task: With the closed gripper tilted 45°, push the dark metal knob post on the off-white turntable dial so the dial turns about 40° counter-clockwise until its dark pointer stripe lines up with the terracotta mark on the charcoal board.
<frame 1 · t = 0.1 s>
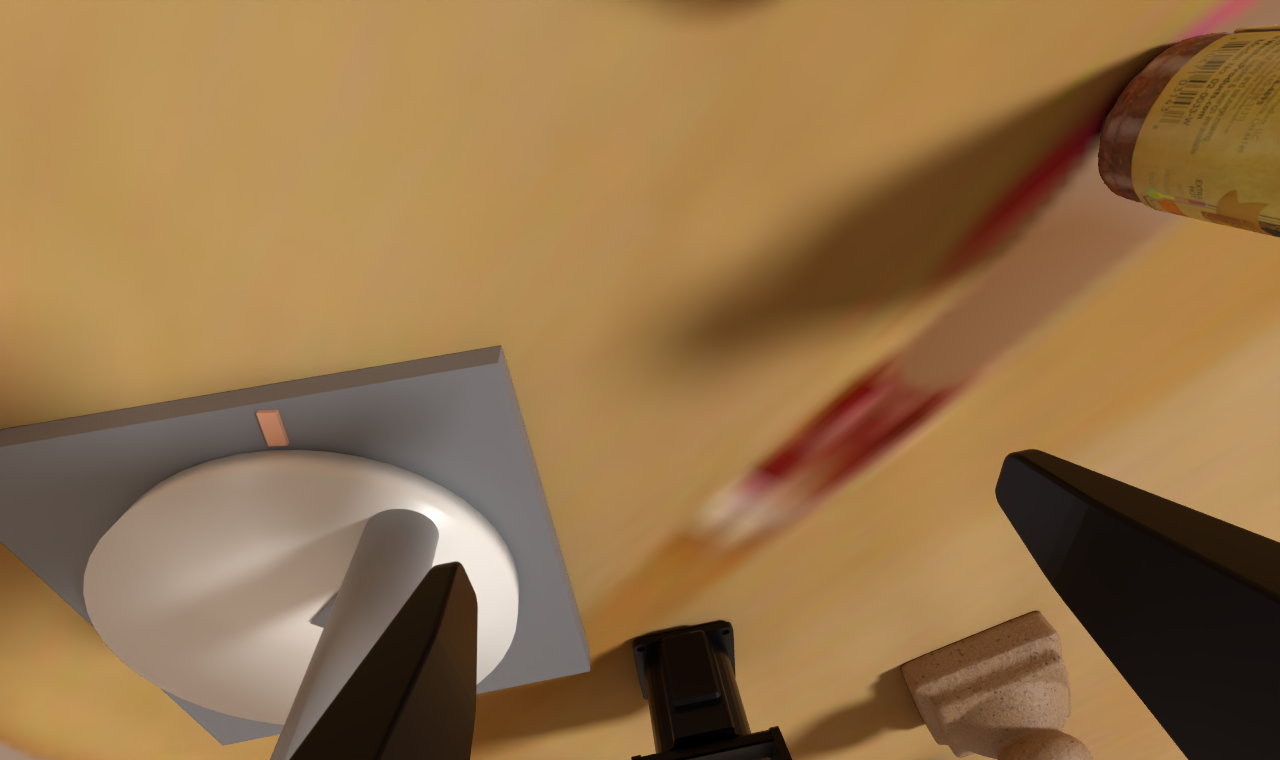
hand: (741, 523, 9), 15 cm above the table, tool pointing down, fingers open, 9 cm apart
sauce bottle: (1162, 118, 22), on the table
dial: (269, 745, 20), point 8 cm above the table, hinge at 0.0°
dial board: (343, 567, 28), on the table
candle holder: (975, 668, 43), on the table
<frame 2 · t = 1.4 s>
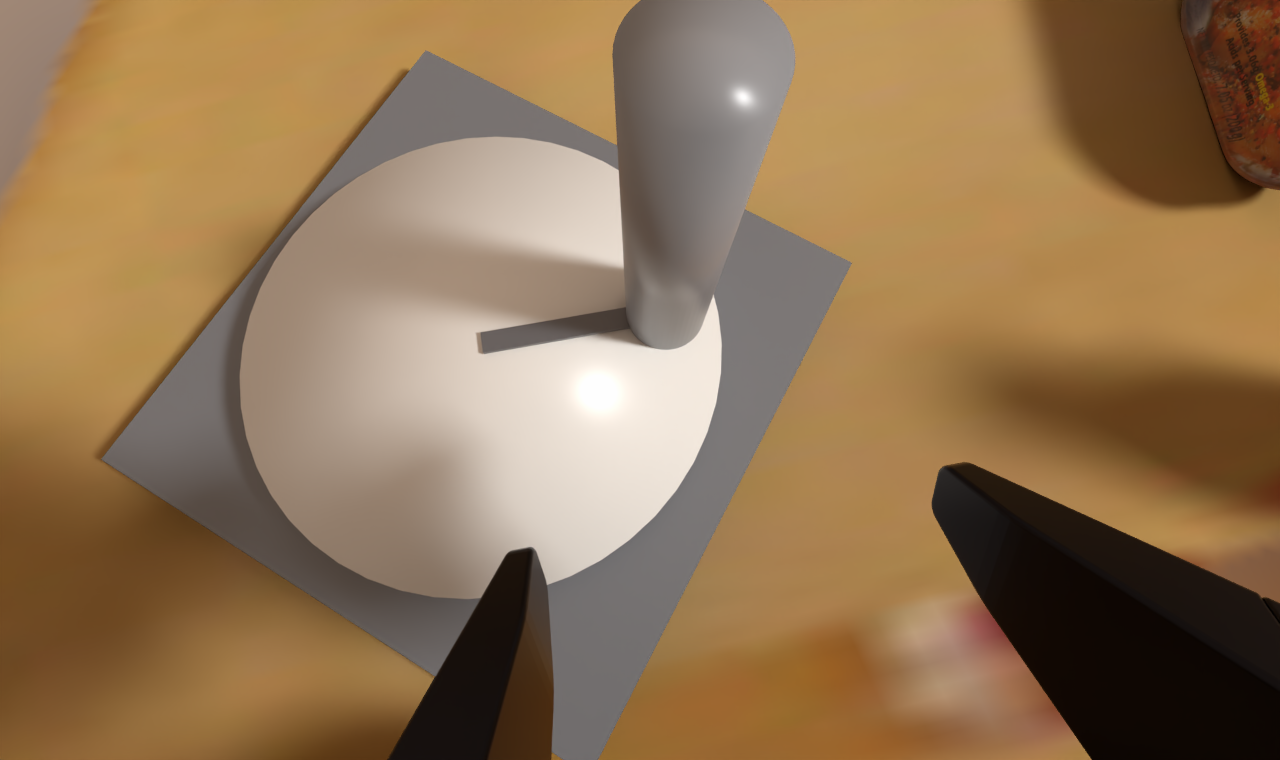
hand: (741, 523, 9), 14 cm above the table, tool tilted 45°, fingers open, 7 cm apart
dial: (430, 288, 15), point 8 cm above the table, hinge at 0.0°
dial board: (503, 365, 23), on the table
tin: (1225, 94, 27), on the table
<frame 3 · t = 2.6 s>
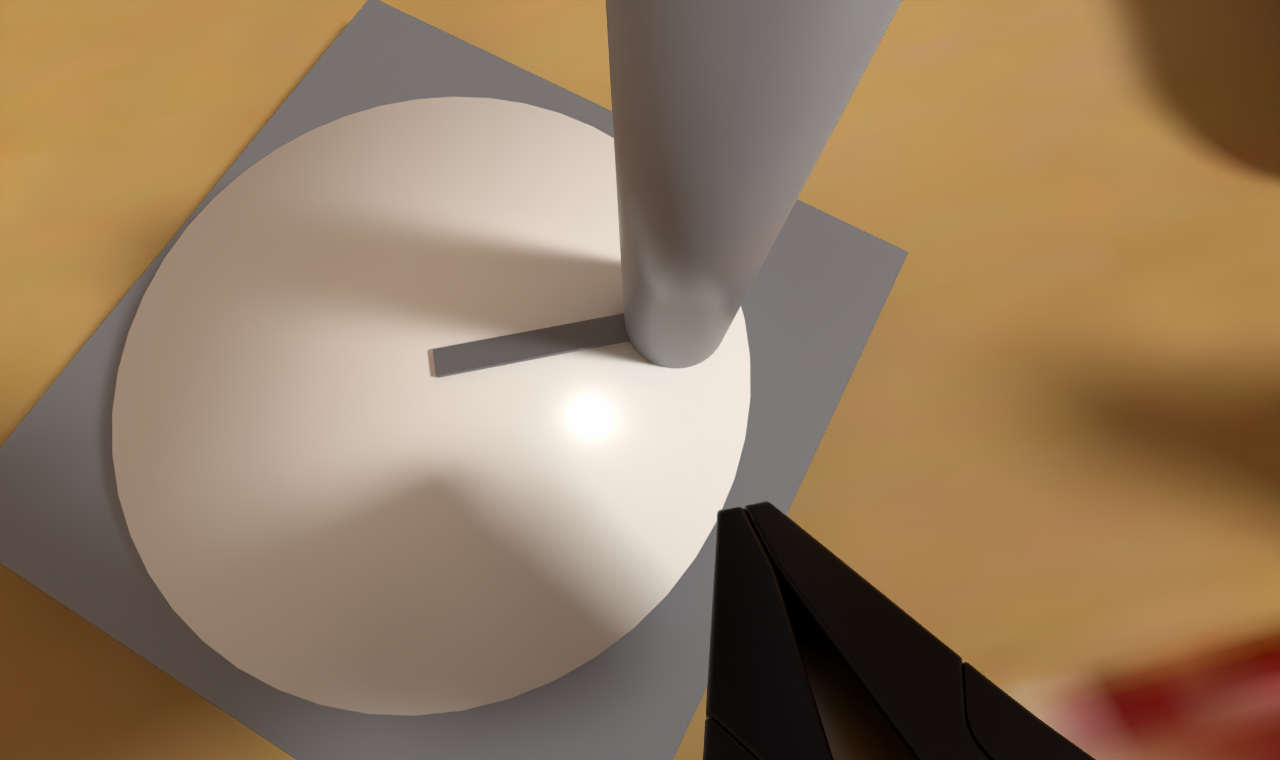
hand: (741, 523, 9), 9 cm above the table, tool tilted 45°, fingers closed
dial: (336, 293, 10), point 8 cm above the table, hinge at 0.0°
dial board: (470, 388, 18), on the table
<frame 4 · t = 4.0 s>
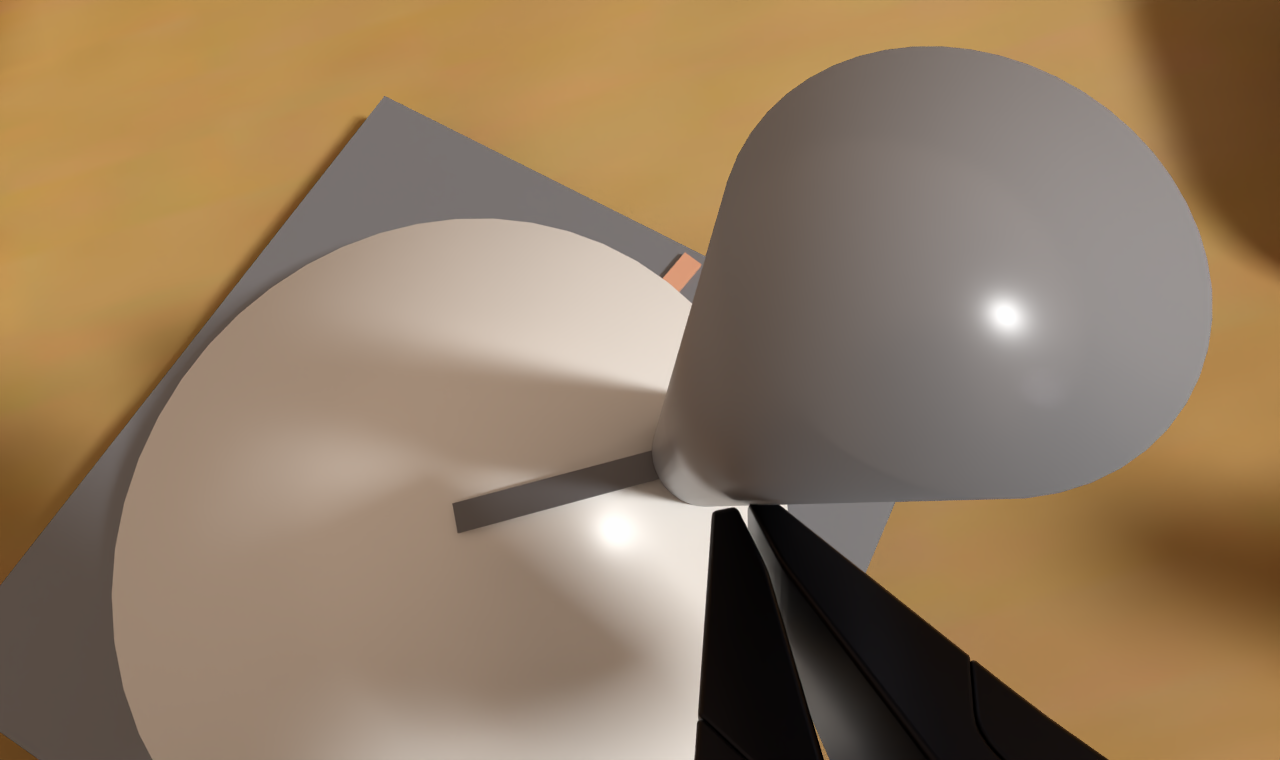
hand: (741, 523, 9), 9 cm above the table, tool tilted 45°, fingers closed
dial: (361, 523, 9), point 8 cm above the table, hinge at 3.6°, touching gripper
dial board: (488, 516, 18), on the table
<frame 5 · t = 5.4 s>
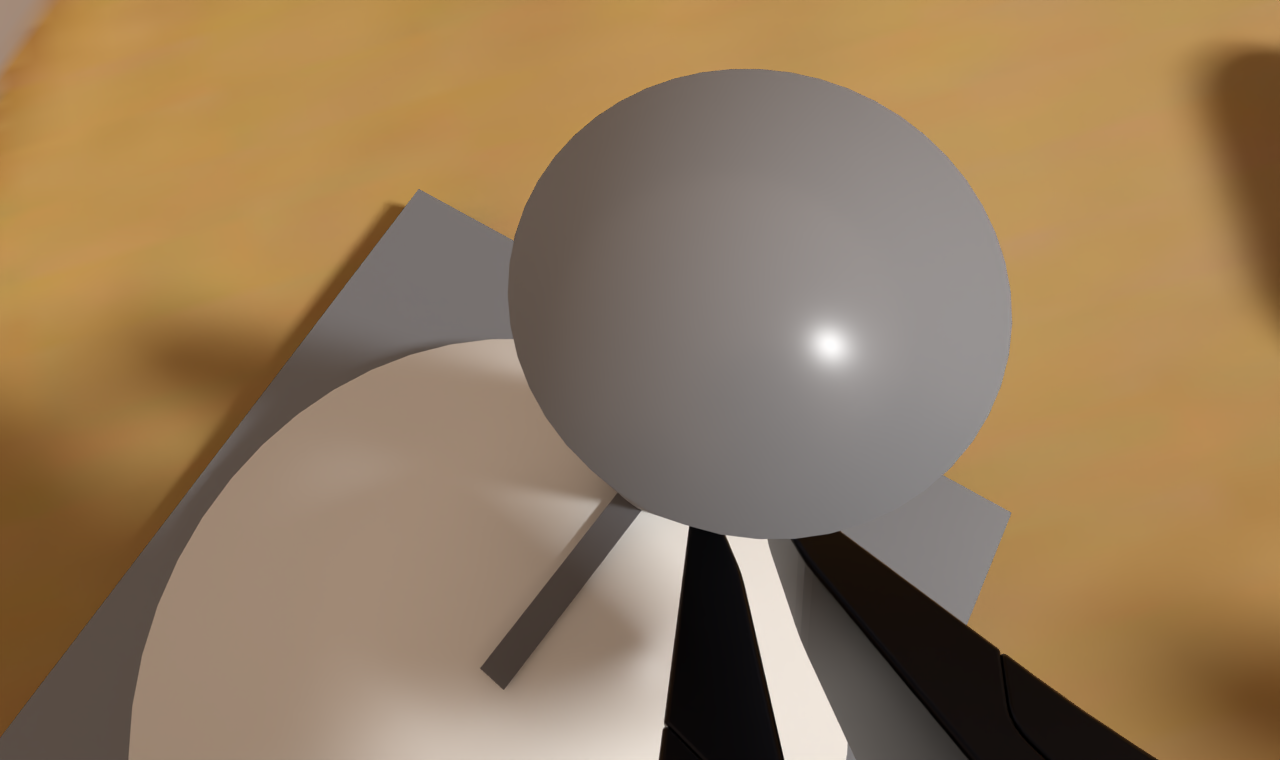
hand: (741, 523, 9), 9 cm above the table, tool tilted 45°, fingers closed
dial board: (520, 645, 17), on the table
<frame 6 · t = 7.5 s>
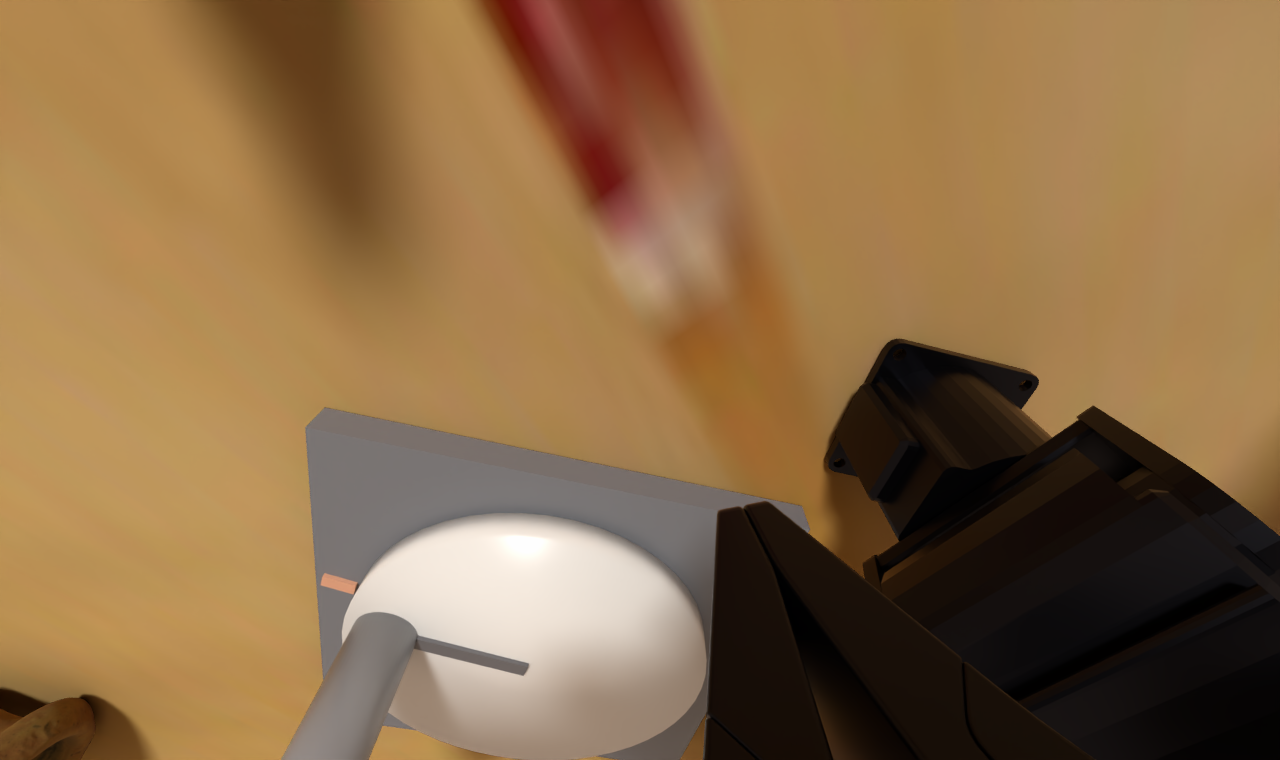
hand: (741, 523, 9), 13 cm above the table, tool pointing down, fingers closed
dial board: (538, 612, 30), on the table
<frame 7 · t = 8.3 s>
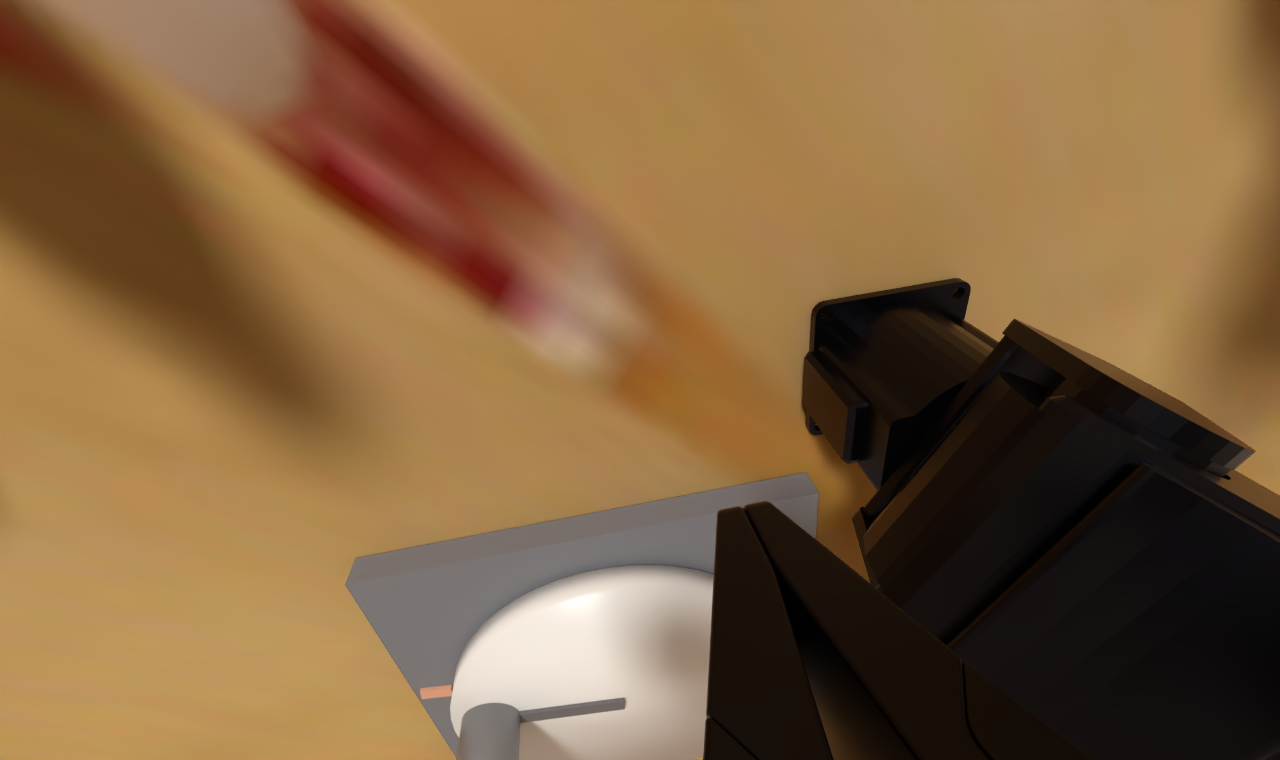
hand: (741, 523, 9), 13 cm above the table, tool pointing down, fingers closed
dial board: (618, 646, 32), on the table
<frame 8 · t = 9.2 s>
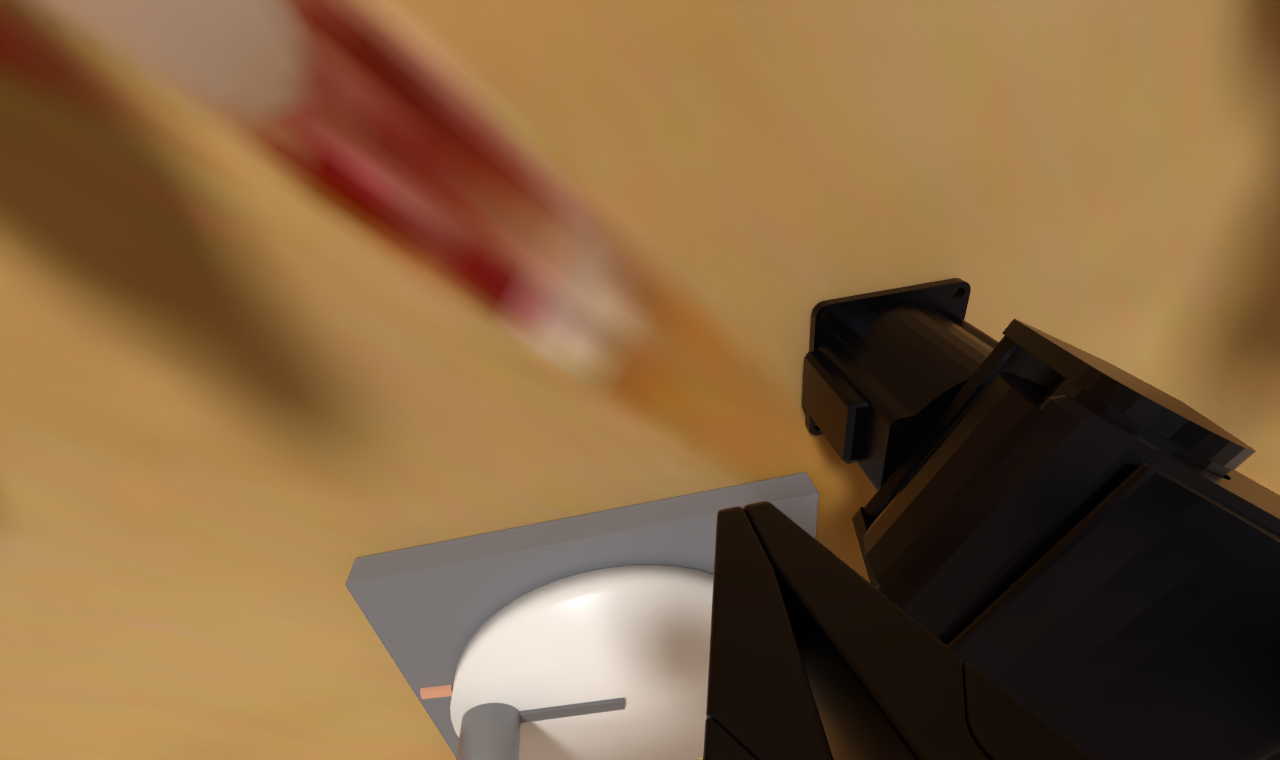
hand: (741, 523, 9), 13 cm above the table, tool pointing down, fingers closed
dial board: (618, 646, 32), on the table
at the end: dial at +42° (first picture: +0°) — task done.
